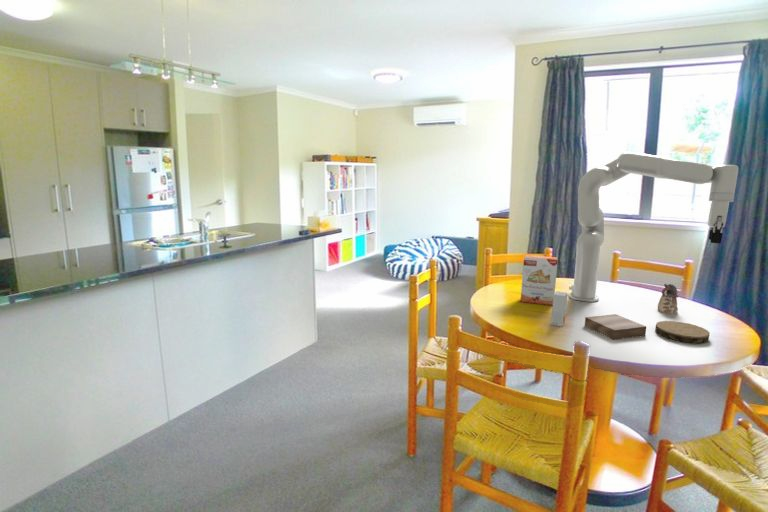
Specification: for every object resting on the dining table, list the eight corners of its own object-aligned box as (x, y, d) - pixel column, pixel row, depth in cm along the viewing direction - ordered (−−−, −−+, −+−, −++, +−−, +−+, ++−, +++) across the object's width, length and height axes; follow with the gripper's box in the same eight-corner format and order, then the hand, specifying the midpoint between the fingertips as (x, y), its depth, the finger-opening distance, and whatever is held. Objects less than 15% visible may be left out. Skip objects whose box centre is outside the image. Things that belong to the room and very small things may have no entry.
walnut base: (584, 327, 163) (585, 317, 162) (614, 323, 166) (615, 314, 166) (613, 341, 149) (614, 330, 149) (645, 337, 153) (646, 326, 152)
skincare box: (562, 326, 161) (565, 296, 159) (550, 324, 164) (553, 294, 161) (565, 322, 166) (568, 292, 164) (553, 320, 169) (556, 290, 166)
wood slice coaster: (690, 347, 143) (691, 339, 143) (645, 331, 158) (646, 324, 157) (718, 341, 150) (720, 332, 149) (673, 326, 164) (674, 318, 163)
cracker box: (520, 302, 192) (523, 256, 188) (521, 298, 197) (524, 254, 193) (553, 306, 187) (557, 259, 183) (553, 302, 192) (557, 256, 188)
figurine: (680, 314, 177) (684, 286, 174) (661, 313, 178) (665, 285, 176) (672, 309, 183) (676, 282, 181) (654, 308, 185) (658, 281, 183)
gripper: (707, 196, 174) (701, 237, 177) (710, 198, 160) (704, 243, 163) (731, 196, 170) (724, 239, 173) (736, 199, 156) (729, 245, 159)
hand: (714, 241), depth 168 cm, fingers open, 9 cm apart
